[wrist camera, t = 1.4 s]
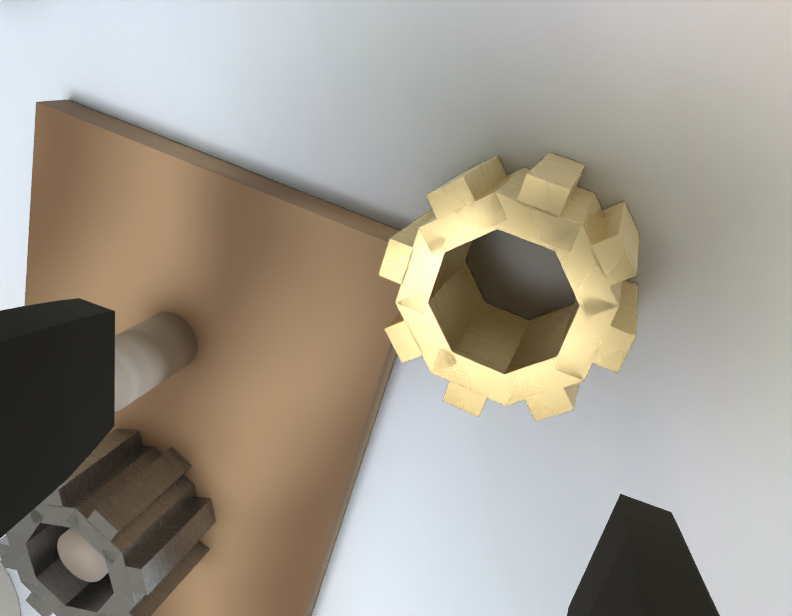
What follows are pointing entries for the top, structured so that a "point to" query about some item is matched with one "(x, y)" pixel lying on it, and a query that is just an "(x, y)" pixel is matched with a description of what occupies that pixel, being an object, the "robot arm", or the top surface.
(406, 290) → the brass gear
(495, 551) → the top surface
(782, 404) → the top surface
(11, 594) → the cup
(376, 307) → the gear board
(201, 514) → the gear
